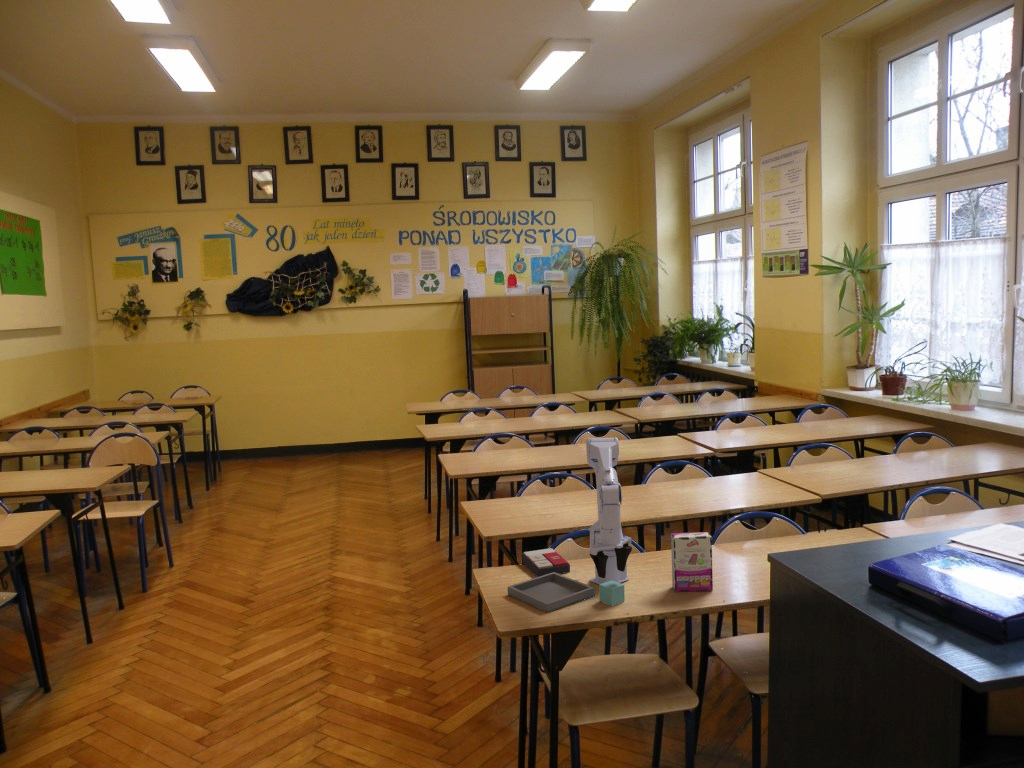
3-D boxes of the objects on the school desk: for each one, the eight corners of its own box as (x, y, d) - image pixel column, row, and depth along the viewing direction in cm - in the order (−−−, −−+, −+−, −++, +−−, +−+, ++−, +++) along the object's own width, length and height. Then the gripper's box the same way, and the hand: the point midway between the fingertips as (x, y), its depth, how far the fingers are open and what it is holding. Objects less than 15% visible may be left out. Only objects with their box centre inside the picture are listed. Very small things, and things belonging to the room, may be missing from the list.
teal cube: (611, 596, 222) (611, 580, 221) (624, 601, 218) (624, 584, 217) (599, 601, 218) (599, 584, 218) (612, 606, 215) (611, 589, 214)
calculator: (538, 567, 239) (521, 550, 253) (538, 580, 239) (521, 563, 253) (570, 562, 242) (552, 546, 256) (570, 575, 243) (552, 558, 257)
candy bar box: (708, 585, 228) (708, 531, 226) (713, 591, 223) (712, 536, 221) (671, 586, 228) (670, 532, 226) (674, 592, 223) (673, 537, 221)
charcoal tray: (554, 579, 236) (553, 571, 236) (594, 596, 222) (594, 587, 222) (507, 594, 225) (507, 586, 225) (547, 613, 211) (547, 604, 211)
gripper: (601, 535, 208) (603, 583, 210) (638, 524, 217) (639, 571, 218) (584, 530, 214) (585, 577, 215) (620, 519, 223) (621, 565, 224)
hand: (611, 573), depth 217 cm, fingers open, 7 cm apart
